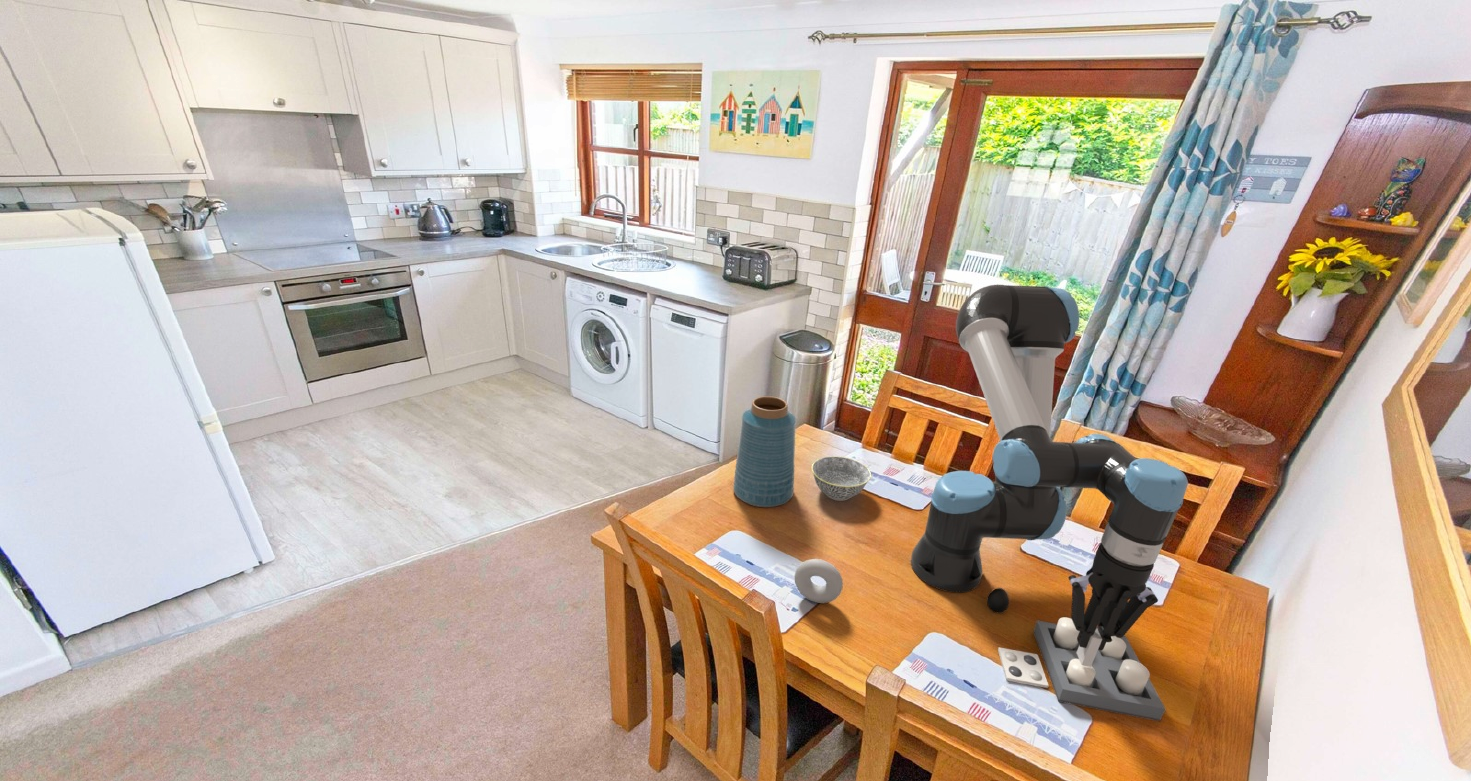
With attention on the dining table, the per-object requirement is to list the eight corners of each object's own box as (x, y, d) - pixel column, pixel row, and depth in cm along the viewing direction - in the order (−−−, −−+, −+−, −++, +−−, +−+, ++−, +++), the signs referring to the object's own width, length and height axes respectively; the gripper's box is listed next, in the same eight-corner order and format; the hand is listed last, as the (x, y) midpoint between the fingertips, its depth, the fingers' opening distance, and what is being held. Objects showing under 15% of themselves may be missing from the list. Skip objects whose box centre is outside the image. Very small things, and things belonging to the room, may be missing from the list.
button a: (1067, 691, 101) (1074, 674, 99) (1060, 672, 104) (1066, 656, 103) (1092, 696, 100) (1099, 679, 98) (1084, 677, 104) (1090, 660, 102)
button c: (1056, 647, 107) (1062, 631, 106) (1050, 631, 111) (1055, 615, 109) (1079, 651, 106) (1085, 635, 105) (1072, 635, 110) (1078, 619, 109)
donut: (841, 600, 119) (847, 562, 115) (838, 612, 116) (844, 573, 112) (794, 588, 122) (798, 550, 118) (790, 598, 119) (794, 560, 115)
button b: (1120, 692, 99) (1128, 675, 97) (1111, 673, 102) (1118, 657, 101) (1146, 697, 98) (1154, 680, 96) (1136, 678, 101) (1143, 661, 100)
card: (1006, 679, 103) (1007, 677, 103) (997, 649, 109) (998, 646, 109) (1047, 687, 102) (1048, 685, 102) (1036, 656, 108) (1037, 653, 108)
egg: (1008, 617, 117) (1014, 598, 115) (987, 613, 118) (993, 595, 116) (1003, 602, 121) (1009, 584, 119) (983, 599, 122) (988, 581, 120)
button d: (1099, 663, 107) (1106, 647, 105) (1092, 647, 110) (1098, 631, 109) (1123, 668, 106) (1130, 652, 104) (1114, 651, 110) (1121, 635, 108)
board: (1058, 701, 99) (1062, 688, 98) (1033, 631, 114) (1036, 620, 113) (1159, 721, 97) (1165, 708, 96) (1120, 647, 111) (1125, 635, 110)
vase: (748, 515, 146) (754, 421, 135) (723, 482, 159) (727, 394, 149) (804, 503, 152) (814, 412, 141) (776, 472, 166) (783, 387, 155)
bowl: (809, 475, 165) (811, 452, 162) (865, 481, 163) (868, 458, 160) (808, 506, 150) (811, 482, 147) (869, 514, 149) (873, 489, 146)
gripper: (1091, 560, 89) (1050, 669, 98) (1184, 575, 86) (1133, 685, 96) (1075, 531, 95) (1038, 635, 105) (1161, 544, 93) (1115, 649, 103)
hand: (1083, 659), depth 100 cm, fingers closed
